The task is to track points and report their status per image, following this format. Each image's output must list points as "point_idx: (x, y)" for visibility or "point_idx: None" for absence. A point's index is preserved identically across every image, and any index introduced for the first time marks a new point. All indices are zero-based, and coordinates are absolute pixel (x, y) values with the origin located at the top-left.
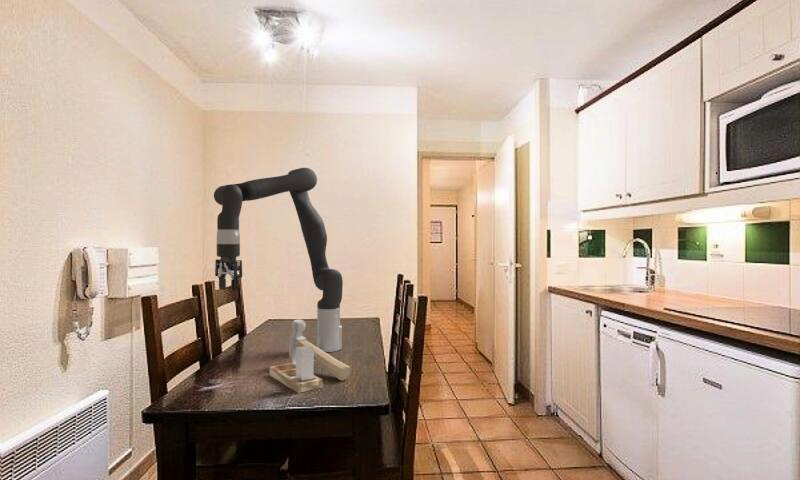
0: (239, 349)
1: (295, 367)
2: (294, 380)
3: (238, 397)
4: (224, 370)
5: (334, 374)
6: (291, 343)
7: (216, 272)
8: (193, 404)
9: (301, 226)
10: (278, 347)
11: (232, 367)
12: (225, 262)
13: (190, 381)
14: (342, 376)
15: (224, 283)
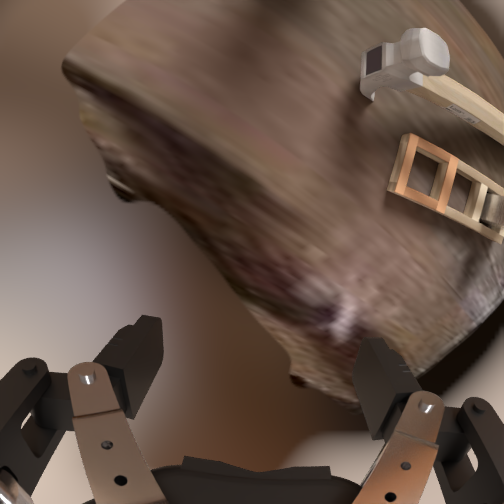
0: (97, 86)
1: (441, 158)
2: (487, 231)
3: (429, 317)
4: (254, 229)
5: (502, 144)
6: (382, 80)
7: (52, 443)
8: None
9: None
10: (167, 5)
11: (246, 199)
12: None
13: (271, 324)
14: None
15: (145, 351)
